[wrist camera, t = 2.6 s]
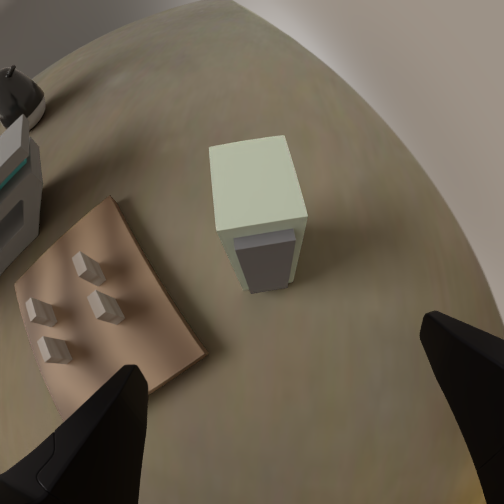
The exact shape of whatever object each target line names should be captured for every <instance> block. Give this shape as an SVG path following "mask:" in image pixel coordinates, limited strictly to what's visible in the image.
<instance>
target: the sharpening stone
mask: <svg viewBox="0 0 504 504" xmlns="http://www.w3.org/2000/svg"><path fill="white" fill-rule="evenodd" d="M42 186H43V180H42V172H41V163H40V151H39V146H38V145H37V144H36V143H35V142H34V140H33V139H32V138H31V137H29V121H28V119H27V118H26V117H25V116H24V114H22V115H21V116H20V117H19V118H18V119H17V120H16V121H15V122H14V123H13V124H12V125H11V126H10V127H9V128H8V129H7V130H6V131H5V132H4V133H3V134H2V135H1V136H0V275H1V274H2V273H3V272H4V270H5V269H6V268H7V267H8V266H9V265H10V264H11V263H12V262H13V261H14V259H15V258H16V257H17V256H18V255H19V254H20V253H21V252H22V251H23V250H24V249H25V248H26V247H27V246H28V245H29V244H30V243H31V242H32V241H33V240H34V239H35V238H36V237H37V236H38V234H39V216H40V204H41V195H42Z"/></svg>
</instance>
